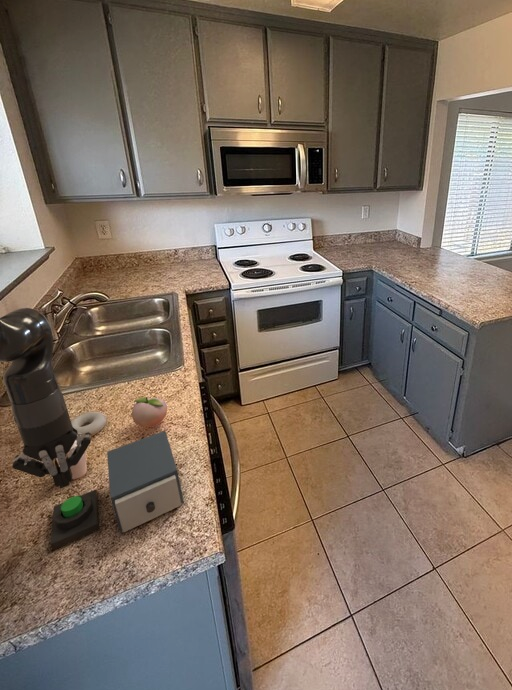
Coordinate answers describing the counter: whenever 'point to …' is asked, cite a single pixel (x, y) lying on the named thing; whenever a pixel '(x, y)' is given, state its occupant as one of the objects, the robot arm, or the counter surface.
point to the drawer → (148, 503)
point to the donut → (89, 422)
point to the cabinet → (140, 466)
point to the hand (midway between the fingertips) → (65, 483)
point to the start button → (72, 506)
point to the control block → (75, 521)
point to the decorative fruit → (149, 411)
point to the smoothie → (81, 466)
